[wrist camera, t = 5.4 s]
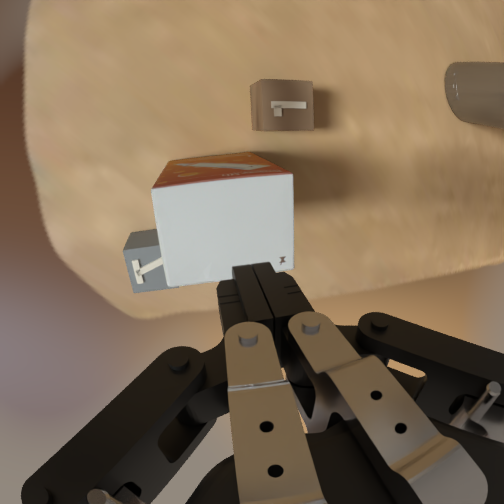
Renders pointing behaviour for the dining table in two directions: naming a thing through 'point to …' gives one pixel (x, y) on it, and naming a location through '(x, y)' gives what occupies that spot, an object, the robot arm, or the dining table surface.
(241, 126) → the dining table surface
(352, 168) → the dining table surface
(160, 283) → the slate block seven
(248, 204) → the small box
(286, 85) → the walnut block one
